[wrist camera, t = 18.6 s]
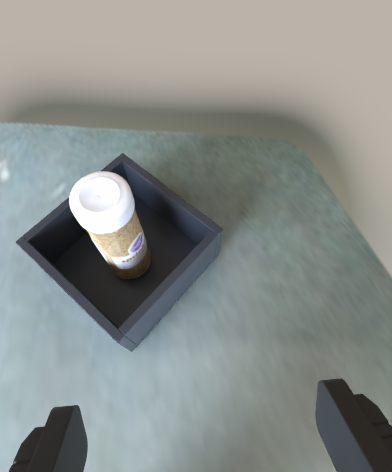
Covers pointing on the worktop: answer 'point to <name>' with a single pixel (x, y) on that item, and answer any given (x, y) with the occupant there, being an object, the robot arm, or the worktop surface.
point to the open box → (99, 271)
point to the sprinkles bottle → (111, 222)
